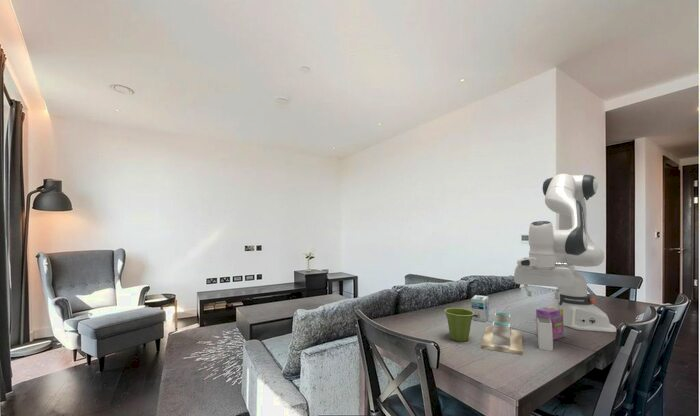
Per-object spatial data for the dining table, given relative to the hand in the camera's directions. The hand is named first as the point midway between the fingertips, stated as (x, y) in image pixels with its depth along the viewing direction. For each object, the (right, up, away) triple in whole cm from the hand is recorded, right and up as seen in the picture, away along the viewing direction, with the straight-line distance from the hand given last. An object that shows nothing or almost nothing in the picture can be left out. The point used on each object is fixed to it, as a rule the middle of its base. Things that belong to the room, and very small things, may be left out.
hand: (543, 297), depth 124 cm
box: (+9, -20, +10) cm, 24 cm away
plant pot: (-30, -20, +8) cm, 37 cm away
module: (0, -19, -1) cm, 19 cm away
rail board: (-13, -19, +6) cm, 24 cm away
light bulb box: (-9, -22, +37) cm, 44 cm away
